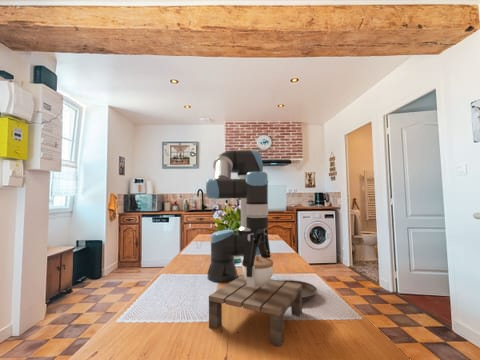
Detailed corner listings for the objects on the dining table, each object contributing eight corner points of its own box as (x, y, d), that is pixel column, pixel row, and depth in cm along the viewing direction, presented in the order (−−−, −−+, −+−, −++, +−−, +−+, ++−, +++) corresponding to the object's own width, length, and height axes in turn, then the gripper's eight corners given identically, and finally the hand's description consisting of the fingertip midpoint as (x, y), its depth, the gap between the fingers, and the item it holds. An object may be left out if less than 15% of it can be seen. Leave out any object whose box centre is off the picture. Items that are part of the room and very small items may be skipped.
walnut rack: (242, 300, 108) (242, 274, 108) (302, 312, 97) (301, 284, 97) (208, 327, 87) (208, 295, 87) (280, 346, 76) (279, 310, 76)
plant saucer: (258, 290, 119) (258, 282, 119) (299, 284, 126) (299, 277, 126) (281, 309, 100) (281, 300, 100) (327, 301, 107) (327, 292, 107)
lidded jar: (256, 276, 100) (256, 251, 100) (279, 283, 92) (279, 256, 93) (235, 284, 92) (235, 256, 93) (259, 292, 85) (258, 262, 85)
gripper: (260, 213, 105) (260, 270, 104) (231, 219, 85) (231, 290, 84) (278, 214, 102) (279, 273, 101) (253, 220, 81) (253, 294, 80)
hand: (257, 281), depth 92 cm, fingers closed on lidded jar, 11 cm apart
